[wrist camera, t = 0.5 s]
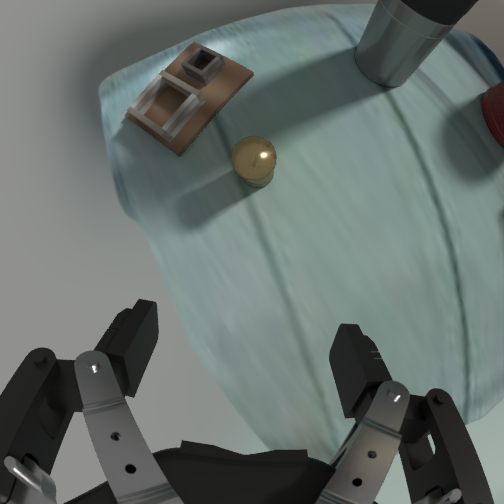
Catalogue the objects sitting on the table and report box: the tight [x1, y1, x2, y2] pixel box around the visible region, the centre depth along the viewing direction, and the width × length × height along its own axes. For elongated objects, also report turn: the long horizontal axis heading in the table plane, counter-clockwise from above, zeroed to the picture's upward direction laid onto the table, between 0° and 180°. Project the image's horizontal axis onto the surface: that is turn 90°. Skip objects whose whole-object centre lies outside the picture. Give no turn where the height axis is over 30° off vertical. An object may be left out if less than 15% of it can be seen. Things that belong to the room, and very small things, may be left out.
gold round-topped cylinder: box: [231, 136, 276, 188], centre depth 31 cm, size 5×5×8 cm
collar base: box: [125, 42, 254, 156], centre depth 33 cm, size 16×12×4 cm
